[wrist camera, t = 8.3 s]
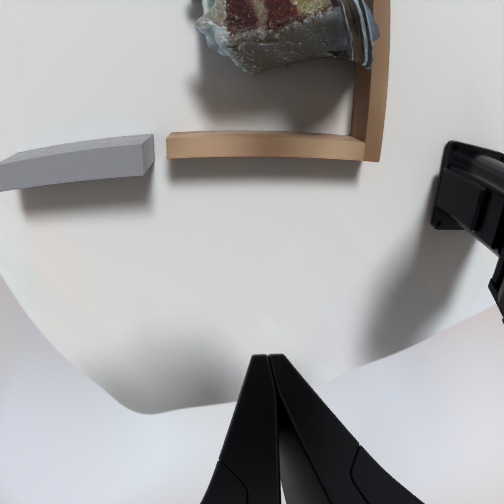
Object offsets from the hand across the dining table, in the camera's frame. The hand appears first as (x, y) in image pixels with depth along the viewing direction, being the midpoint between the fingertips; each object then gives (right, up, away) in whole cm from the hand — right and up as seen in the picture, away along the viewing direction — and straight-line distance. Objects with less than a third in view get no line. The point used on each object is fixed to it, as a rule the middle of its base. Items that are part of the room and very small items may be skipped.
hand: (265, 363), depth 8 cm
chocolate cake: (0, +17, +4) cm, 17 cm away
